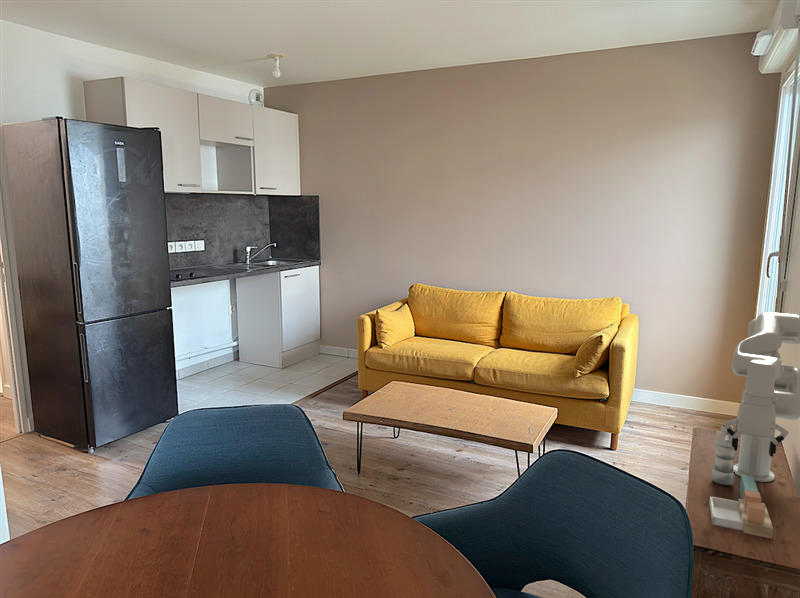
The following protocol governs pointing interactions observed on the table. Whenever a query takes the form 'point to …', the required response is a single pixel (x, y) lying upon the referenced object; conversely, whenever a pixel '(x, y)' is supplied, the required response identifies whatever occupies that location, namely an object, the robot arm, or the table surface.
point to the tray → (725, 513)
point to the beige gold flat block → (755, 523)
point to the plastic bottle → (724, 458)
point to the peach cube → (755, 512)
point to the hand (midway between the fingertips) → (752, 452)
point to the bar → (747, 484)
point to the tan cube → (751, 497)
